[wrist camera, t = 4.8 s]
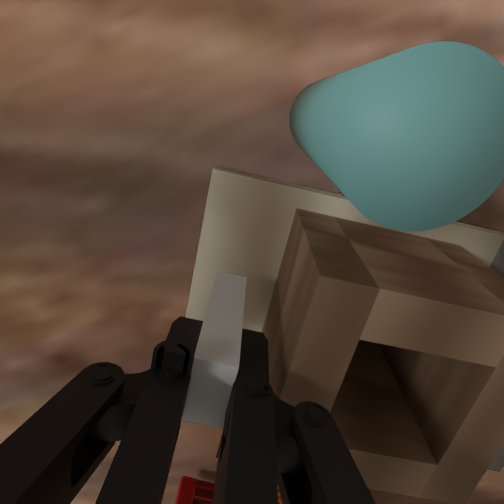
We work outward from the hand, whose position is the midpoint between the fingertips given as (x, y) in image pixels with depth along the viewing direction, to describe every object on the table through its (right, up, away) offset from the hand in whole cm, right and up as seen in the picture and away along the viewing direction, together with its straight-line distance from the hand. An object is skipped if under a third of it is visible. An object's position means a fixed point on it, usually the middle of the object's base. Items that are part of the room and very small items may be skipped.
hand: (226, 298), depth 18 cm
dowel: (+5, +9, 0) cm, 10 cm away
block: (+7, 0, +3) cm, 8 cm away
